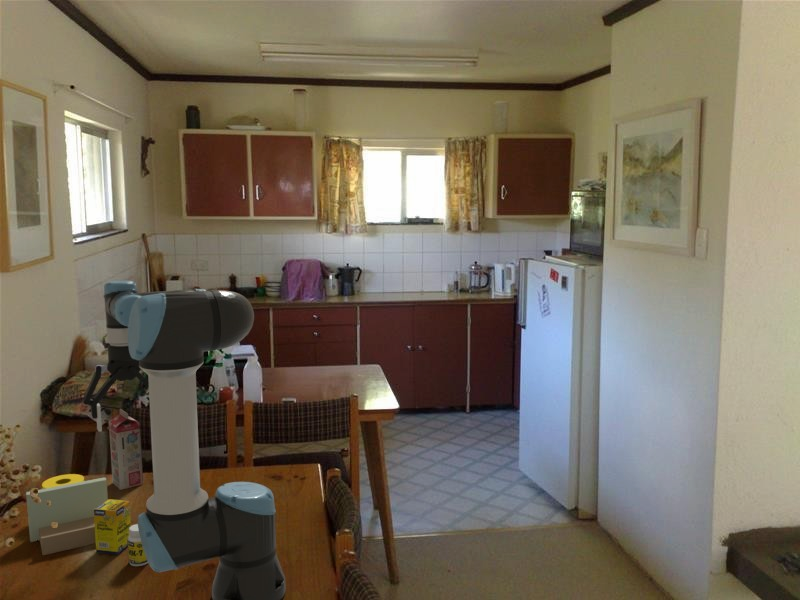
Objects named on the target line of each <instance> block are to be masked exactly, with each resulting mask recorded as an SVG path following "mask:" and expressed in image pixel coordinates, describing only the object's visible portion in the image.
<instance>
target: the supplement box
mask: <svg viewBox="0 0 800 600" xmlns="http://www.w3.org/2000/svg"><path fill="white" fill-rule="evenodd" d="M130 503H131V502H130V501H129V500H121V499H120V500H119V499H111V498H110V499H109V498H108V500H107V501H106V502H104V503H103V504H101V505H100V506H98V507H96V508H95V509H94V524H95V540H96V543H95V552H96V553H98V554H108V555H116V556H118V555H119V554H121V552H123V551H124V550H125V549H126V548H128V536H129V528H130V527H131V526H132V523H131V521H132V520H131V506H130Z"/></svg>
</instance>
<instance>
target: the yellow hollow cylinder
mask: <svg viewBox="0 0 800 600" xmlns="http://www.w3.org/2000/svg"><path fill="white" fill-rule="evenodd" d="M83 481H85V476H83V475H82V474H76V473H68V474H60V475H57V476H53V477H50V478H48V479H46V480H44V481H43V482H42V483H41V489H46V488H51V487H56V486H62V485H67V484H72V483H77V482H83Z"/></svg>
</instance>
